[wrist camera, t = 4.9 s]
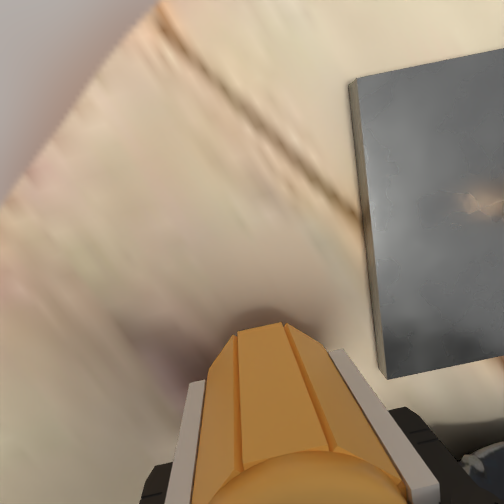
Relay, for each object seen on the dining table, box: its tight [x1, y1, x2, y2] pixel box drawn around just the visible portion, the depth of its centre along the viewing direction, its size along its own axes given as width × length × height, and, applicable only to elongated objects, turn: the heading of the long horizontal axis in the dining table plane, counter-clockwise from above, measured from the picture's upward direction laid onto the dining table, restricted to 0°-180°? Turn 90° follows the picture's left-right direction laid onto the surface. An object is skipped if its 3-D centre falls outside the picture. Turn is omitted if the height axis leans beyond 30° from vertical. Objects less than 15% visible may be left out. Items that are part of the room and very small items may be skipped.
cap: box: [192, 322, 408, 504], centre depth 11 cm, size 6×6×8 cm
